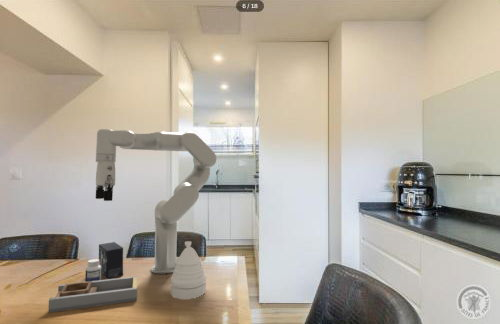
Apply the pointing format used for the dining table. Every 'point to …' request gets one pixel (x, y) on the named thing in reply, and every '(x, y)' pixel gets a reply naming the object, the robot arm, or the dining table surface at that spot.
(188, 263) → the honey pot
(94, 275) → the pill bottle
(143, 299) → the dining table surface
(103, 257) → the small box
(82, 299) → the bay
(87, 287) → the crate
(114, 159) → the robot arm
